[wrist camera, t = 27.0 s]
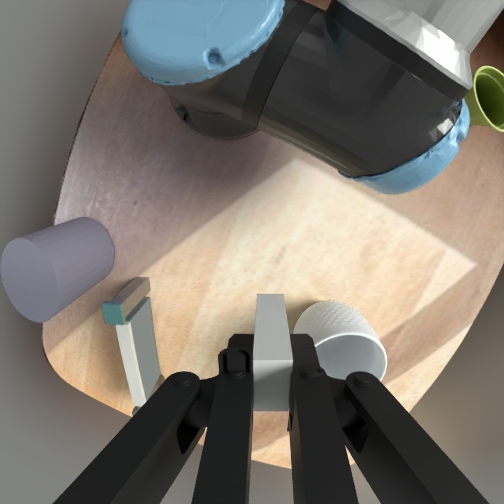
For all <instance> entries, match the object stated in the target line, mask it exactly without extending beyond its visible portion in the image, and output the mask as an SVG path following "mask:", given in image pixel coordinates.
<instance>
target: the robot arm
mask: <svg viewBox="0 0 504 504" xmlns="http://www.w3.org/2000/svg"><path fill="white" fill-rule="evenodd" d="M503 8H504V0H332V1H331V3H330V5H329V7H328V9H327V10H326V11H325V10H323V9H320V8H318V7H316V6H314V5H312V4H309V3H307V2H304V1H302V0H130V2H129V4H128V6H127V8H126V10H125V13H124V16H123V20H122V25H121V36H122V41H123V47H124V50H125V52H126V54H127V56H128V57H129V59H130V60H131V61H132V62H133V63H134V64H135V66H136V67H137V69H138V70H139V71H140V72H141V74H142V75H143V76H145V77H147V78H148V79H149V80H150V81H153V82H155V83H157V84H159V85H160V86H161V87H162V88H164V89H165V90H166V91H168V92H169V94H170V99H171V102H172V105H173V107H174V109H175V111H176V113H177V114H178V116H179V117H180V118H181V119H182V121H183V122H184V123H186V124H187V125H188V126H189V127H191V128H192V129H194V130H195V131H197V132H199V133H201V134H203V135H205V136H208V137H211V138H216V139H238V138H242V137H246V136H249V135H251V134H254V133H256V132H258V131H259V130H261V131H263V132H266V133H268V134H270V135H272V136H274V137H276V138H278V139H280V140H282V141H284V142H286V143H288V144H290V145H292V146H294V147H296V148H298V149H300V150H302V151H304V152H306V153H308V154H309V155H311V156H313V157H315V158H317V159H319V160H321V161H323V162H324V163H326V164H328V165H330V166H332V167H333V168H335V169H337V170H338V172H339V173H340V174H341V175H342V176H344V177H345V178H347V179H349V180H353V181H358V182H360V183H362V184H363V185H365V186H367V187H369V188H371V189H373V190H374V191H376V192H379V193H383V194H388V195H399V194H404V193H408V192H411V191H413V190H416V189H418V188H420V187H422V186H423V185H425V184H426V183H428V182H429V181H431V180H432V179H433V178H435V177H436V176H437V175H438V174H440V173H441V172H442V171H443V170H444V169H445V168H446V167H447V166H448V164H449V163H450V162H451V161H452V159H453V158H454V157H455V155H456V154H457V152H458V151H459V146H458V143H459V142H460V141H462V140H463V139H465V137H466V135H467V132H468V128H469V123H470V117H469V110H468V107H467V105H466V103H465V100H464V97H465V96H466V94H467V93H468V92H469V91H470V89H471V88H472V87H473V81H472V75H471V69H470V64H469V58H470V53H471V52H472V51H473V49H474V48H475V47H476V45H477V44H478V43H479V41H480V40H481V39H482V37H483V36H484V35H485V33H486V32H487V30H488V29H489V28H490V26H491V25H492V24H493V22H494V21H495V19H496V18H497V17H498V15H499V14H500V12H501V11H502V9H503ZM218 361H219V374H218V375H217V376H215V377H212V378H209V379H202V380H200V379H199V377H198V376H197V375H196V374H194V373H191V372H185V371H183V372H176V373H174V374H171V375H170V376H169V377H168V378H167V379H166V380H165V381H164V382H163V383H162V384H161V386H160V387H159V388H158V389H157V390H156V391H155V392H154V393H153V395H152V396H151V397H150V398H149V399H148V400H147V401H146V402H145V404H144V405H143V406H142V407H141V408H140V409H139V410H138V411H137V413H136V414H135V415H134V416H133V417H132V418H131V419H130V420H129V422H128V423H127V424H126V425H125V426H124V427H123V428H122V429H121V430H120V431H119V433H118V434H117V435H116V436H115V437H114V438H113V439H112V440H111V442H109V444H108V445H107V446H106V447H105V448H104V449H103V450H102V451H101V452H100V453H99V455H98V456H97V457H96V458H95V459H94V460H93V461H92V462H91V463H90V464H89V465H88V467H87V468H86V469H85V470H84V471H83V472H82V473H81V474H80V475H79V476H78V477H77V478H76V479H75V481H74V482H73V483H72V484H71V485H70V486H69V487H68V488H67V489H66V490H65V491H64V492H63V493H62V494H61V495H60V496H59V498H58V499H57V500H56V501H55V502H54V503H53V504H160V502H161V500H162V499H163V498H164V496H165V494H166V493H167V491H168V489H169V488H170V487H171V485H172V483H173V482H174V480H175V479H176V477H177V475H178V474H179V472H180V471H181V469H182V468H183V466H184V464H185V463H186V461H187V459H188V457H189V456H190V455H191V453H192V451H193V450H194V448H195V446H196V445H197V443H198V441H199V440H200V438H201V436H202V435H203V433H204V431H205V428H206V427H207V432H206V437H205V441H204V446H203V451H202V455H201V460H200V465H199V470H198V474H197V479H196V484H195V489H194V494H193V498H192V503H191V504H249V487H250V469H251V450H252V431H253V411H288V410H289V419H288V428H287V431H289V434H290V449H291V464H292V480H293V498H294V504H359V503H358V499H357V494H356V490H355V485H354V481H353V477H352V472H351V468H350V464H349V460H348V455H347V451H346V447H347V449H348V451H349V452H350V454H351V456H352V457H353V459H354V461H355V462H356V464H357V465H358V467H359V469H360V470H361V472H362V473H363V475H364V477H365V478H366V480H367V482H368V483H369V485H370V487H371V488H372V490H373V491H374V493H375V494H376V496H377V498H378V499H379V501H380V503H381V504H489V503H488V501H487V500H486V499H485V498H484V497H483V496H482V495H481V494H480V493H479V491H478V490H477V489H476V488H475V487H474V486H473V484H472V483H471V482H470V481H469V480H468V479H467V478H466V477H465V475H464V474H463V473H462V472H461V471H460V470H459V469H458V468H457V467H456V465H455V464H454V463H453V462H452V461H451V460H450V459H449V457H448V456H447V455H446V454H445V453H444V452H443V451H442V450H441V449H440V447H439V446H438V445H437V444H436V443H435V442H434V441H433V440H432V438H431V437H430V436H429V435H428V434H427V433H426V432H425V431H424V430H423V428H422V427H421V426H420V425H419V424H418V423H417V422H416V421H415V419H414V418H413V417H412V416H411V415H410V414H409V413H408V412H407V411H406V409H405V408H404V407H403V406H402V405H401V404H400V403H399V402H398V401H397V399H396V398H395V397H394V396H393V395H392V394H391V393H390V392H389V391H388V389H387V388H386V387H385V386H384V385H383V384H382V383H381V382H380V381H379V380H378V378H377V377H375V376H374V375H373V374H371V373H368V372H363V371H357V372H353V373H350V374H349V375H348V376H347V377H346V380H344V379H337V378H333V377H330V376H328V375H327V374H326V372H325V370H324V369H323V368H322V367H320V363H319V360H318V356H317V352H316V348H315V345H314V341H313V338H312V337H311V336H309V335H308V334H289V328H288V321H287V314H286V307H285V300H284V294H257V302H256V317H255V333H254V334H234V335H233V336H232V337H231V338H230V339H229V343H228V348H227V349H224V350H223V351H221V352H220V353H219V355H218ZM345 446H346V447H345Z"/></svg>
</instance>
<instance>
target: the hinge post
mask: <svg viewBox="0 0 504 504" xmlns="http://www.w3.org/2000/svg"><path fill="white" fill-rule="evenodd" d="M164 381H165V378H164V376H163V375H161V374H160V376H159V378H158V380H157V382H156V384H155V386H154V388H153V390H152V392H151V394H150V396H149V398H150V397H151V396H152V395H153V393H154V392H155V391H156V390H157V389H158V388H159V387H160V386H161V384H162V383H163V382H164ZM140 408H141V407H139V406H135V407H134V409H133V411H132V414H133V416H134V415H135V414H136V413H137V411H138V410H139V409H140Z"/></svg>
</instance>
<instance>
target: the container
mask: <svg viewBox="0 0 504 504" xmlns="http://www.w3.org/2000/svg"><path fill="white" fill-rule="evenodd" d="M114 256H115V254H114V246H113V242H112V240H111V237H110V235H109V234H108V232H107V230H106V229H105V228H104V227H103V226H102V225H101V224H100V223H99V222H97V221H95V220H93V219H91V218H87V217H81V218H78V219H74V220H71V221H68V222H65V223H61V224H58V225H55V226H52V227H49V228H46V229H43V230H40V231H37V232H34V233H31V234H28V235H25V236H23V237H20V238H17V239H14V240H12V241H11V242H9V243H8V244H7V246H6V247H5V249H4V251H3V253H2V257H1V266H0V267H1V278H2V282H3V286H4V289H5V291H6V293H7V296H8V298H9V299H10V301H11V302H12V304H13V306H14V307H15V308H16V309H17V310H18V311H19V312H20V313H21V314H22V315H23V316H24V317H26V318H27V319H29V320H31V321H34V322H38V323H39V322H46V321H48V320H50V319H51V318H52V317H54V316H55V315H56V314H57V313H59V312H60V311H61V310H63V309H64V308H65V307H67V306H68V305H69V304H70V303H72V302H73V301H74V300H76V299H77V298H78V297H80V296H81V295H82V294H84V293H85V292H86V291H88V290H89V289H90V288H92V287H93V286H95V285H96V284H97V283H99V282H100V281H101V280H103V279H104V278H105V277H107V275H108V274H109V273H110V271H111V269H112V267H113V263H114Z"/></svg>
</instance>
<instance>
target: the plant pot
mask: <svg viewBox="0 0 504 504" xmlns="http://www.w3.org/2000/svg"><path fill="white" fill-rule="evenodd" d="M472 81H473V87H472V88H471V89H470V91H469V92H468V93H467V94H466V96H465V97H464V100H465V103H466V105H467V107H468V110H469V117H470V123H469V125H479V126H489V127H492V128H494V129H496V130H498V131H500V132H504V75H503V74H502V73H501V72H500V71H499V70H497V69H495V68H493V67H491V66H483V67H481V68H479V69H478V70H477V71H476V72H475V74H474V76H473V77H472Z"/></svg>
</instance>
